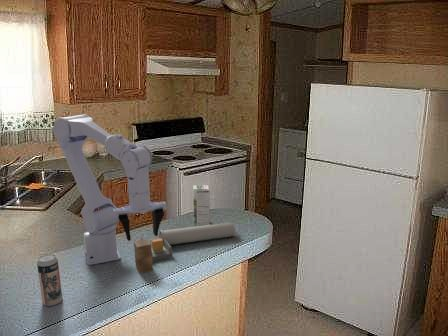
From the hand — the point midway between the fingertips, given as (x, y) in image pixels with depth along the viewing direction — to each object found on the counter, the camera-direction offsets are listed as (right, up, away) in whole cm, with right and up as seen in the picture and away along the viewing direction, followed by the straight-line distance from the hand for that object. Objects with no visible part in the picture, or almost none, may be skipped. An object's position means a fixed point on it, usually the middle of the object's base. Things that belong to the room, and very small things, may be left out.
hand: (142, 237), depth 120 cm
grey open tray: (+2, -7, +13) cm, 15 cm away
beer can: (-20, -14, -13) cm, 28 cm away
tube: (+15, -5, +21) cm, 26 cm away
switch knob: (+3, -6, +11) cm, 13 cm away
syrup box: (+15, -1, +34) cm, 38 cm away
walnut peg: (0, -10, +3) cm, 10 cm away
